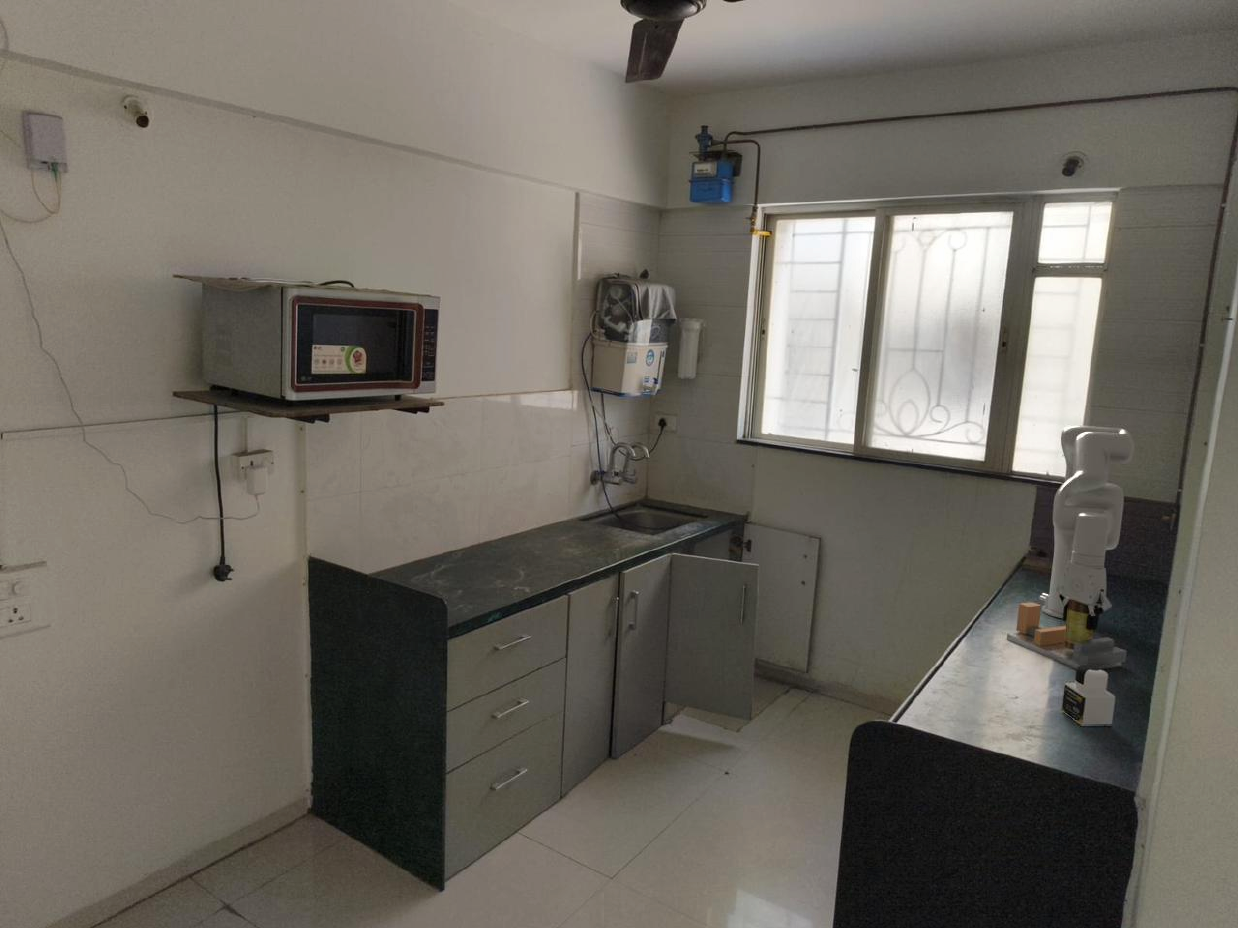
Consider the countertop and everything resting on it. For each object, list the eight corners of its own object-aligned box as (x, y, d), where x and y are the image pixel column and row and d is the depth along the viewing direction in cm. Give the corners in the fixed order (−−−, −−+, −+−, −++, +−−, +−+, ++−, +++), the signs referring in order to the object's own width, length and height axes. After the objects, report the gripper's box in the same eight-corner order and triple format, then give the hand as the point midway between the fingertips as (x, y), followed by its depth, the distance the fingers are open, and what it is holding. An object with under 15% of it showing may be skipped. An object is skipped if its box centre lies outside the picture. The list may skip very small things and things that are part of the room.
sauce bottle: (1093, 653, 208) (1103, 580, 205) (1067, 650, 210) (1077, 578, 207) (1084, 644, 215) (1094, 573, 212) (1059, 642, 216) (1068, 571, 213)
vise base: (1006, 638, 225) (1009, 616, 224) (1042, 634, 230) (1045, 612, 229) (1086, 673, 202) (1089, 649, 201) (1124, 667, 207) (1127, 643, 206)
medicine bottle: (1060, 712, 179) (1066, 661, 177) (1090, 712, 179) (1096, 661, 178) (1081, 727, 172) (1088, 674, 170) (1112, 727, 172) (1119, 674, 171)
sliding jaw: (1007, 631, 226) (1010, 604, 225) (1038, 628, 230) (1041, 601, 229) (1039, 645, 216) (1043, 617, 215) (1071, 641, 220) (1075, 613, 219)
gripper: (1048, 552, 215) (1041, 615, 218) (1108, 569, 199) (1099, 637, 202) (1069, 550, 218) (1061, 612, 221) (1128, 567, 202) (1119, 634, 205)
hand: (1079, 624), depth 211 cm, fingers closed on sauce bottle, 6 cm apart
